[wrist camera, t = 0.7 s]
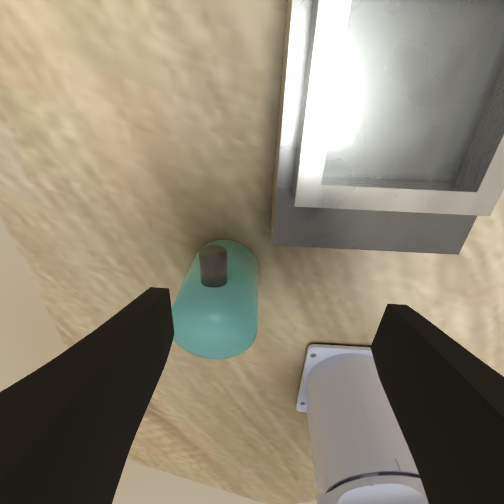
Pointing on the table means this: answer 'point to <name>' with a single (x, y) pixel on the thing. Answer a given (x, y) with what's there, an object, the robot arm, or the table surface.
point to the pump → (218, 301)
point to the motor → (389, 123)
